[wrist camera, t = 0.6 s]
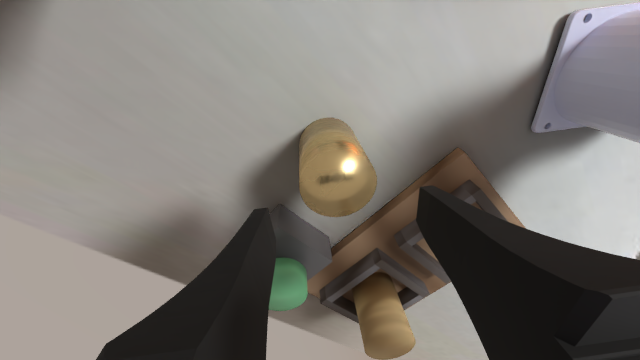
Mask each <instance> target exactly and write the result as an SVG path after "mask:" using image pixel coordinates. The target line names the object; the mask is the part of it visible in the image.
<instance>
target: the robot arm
mask: <svg viewBox="0 0 640 360" xmlns="http://www.w3.org/2000/svg"><path fill="white" fill-rule="evenodd" d="M585 16H586V18H585V20H584V21H583V19H584V17H585ZM546 124H547V125H546ZM545 125H546V126H545ZM580 127H590V128H593V129H597V130H600V131H603V132H606V133H610V134H613V135H616V136H619V137H622V138H626V139H629V140H632V141H635V142H639V143H640V2H637V3H629V4H621V5H613V6H606V7H598V8H590V9H582V10H577V11H574V12H573V13H571V15H570V16H569V17H568V19H567V21H566V24H565V27H564V30H563V33H562V36H561V39H560V42H559V45H558V48H557V51H556V54H555V57H554V60H553V63H552V66H551V69H550V72H549V75H548V78H547V81H546V84H545V87H544V90H543V93H542V96H541V99H540V102H539V105H538V108H537V111H536V114H535V117H534V120H533V123H532V127H531V129H532V131H533V132H536V133H542V132H549V131H557V130H565V129H572V128H580ZM416 222H417V224H418V227H419V229H420V231H421V233H422V235H423V237H424V239H425V241H426V243H427V244H428V246H429V247H430V249H431V251H432V252H433V254H434V255H435V257H436V258H437V260H438V261H439V263H440V265H441V266H442V268H443V269H444V271H445V272H446V274H447V275H448V277H449V279H450V280H451V282H452V284H453V285H454V287H455V289H456V291H457V293H458V294H459V296H460V298H461V300H462V302H463V304H464V306H465V308H466V310H467V312H468V314H469V316H470V319H471V321H472V323H473V325H474V327H475V329H476V331H477V333H478V335H479V338H480V340H481V342H482V344H483V347H484V349H485V351H486V353H487V356H488V358H489V360H640V260H636V259H632V258H627V257H622V256H618V255H613V254H609V253H605V252H601V251H597V250H593V249H589V248H586V247H582V246H578V245H575V244H571V243H568V242H564V241H561V240H558V239H555V238H552V237H548V236H545V235H542V234H539V233H536V232H533V231H531V230H528V229H525V228H523V227H520V226H518V225H515V224H512V223H510V222H507V221H505V220H503V219H500V218H498V217H496V216H494V215H491V214H489V213H487V212H485V211H483V210H481V209H479V208H477V207H475V206H473V205H471V204H469V203H467V202H465V201H463V200H461V199H459V198H457V197H455V196H453V195H451V194H449V193H448V192H446V191H444V190H442V189H440V188H438V187H435V186H433V185H430V186H423V187H420V189H419V198H418V207H417V216H416ZM275 262H276V237H275V233H274V230H273V226H272V222H271V219H270V215H269V211H268V208H262V209H255V210H254V211H253V212H252V213H251V215H250V216H249V217H248V219H247V220H246V221H245V223H244V224H243V226H242V227H241V228H240V230H239V231H238V232H237V233H236V235H235V236H234V237H233V239H232V240H231V241H230V242H229V243H228V245H227V246H226V247H225V248H224V249H223V250H222V252H221V253H220V254H219V255H218V256H217V257H216V258H215V259H214V260H213V261H212V263H211V264H210V265H209V266H208V267H207V268H205V269H204V270H203V271H202V272H201V273H200V274H199V275H198V276H197V277H196V278H195V279H194V280H193V281H191V282H190V283H189V284H188V285H187V286H186V287H184V288H183V289H182V290H181V291H180V292H179V293H177V294H176V295H175V296H174V297H173V298H171V299H170V300H169V301H167V302H166V303H165V304H164V305H162V306H161V307H160V308H158V309H157V310H155V311H154V312H153V313H152V314H150V315H149V316H147V317H146V318H145V319H143V320H142V321H140V322H139V323H137V324H136V325H134V326H133V327H131V328H130V329H128V330H127V331H125V332H124V333H122V334H121V335H119V336H118V337H116V338H115V339H113V340H111V341H110V342H108V343H107V344H106V345H105V346H104V348H103V349H102V351H101V353H100V354H99V356H98V357H97V359H96V360H266V342H267V323H268V310H269V302H270V296H271V289H272V282H273V276H274V269H275Z"/></svg>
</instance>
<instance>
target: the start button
mask: <svg viewBox="0 0 640 360" xmlns="http://www.w3.org/2000/svg"><path fill="white" fill-rule="evenodd" d="M307 294H308V292H307V271H306V269H305V267H304V266H303V265H302V264H301V263H300V262H298V261H296V260H294V259H291V258H276V262H275V269H274V276H273V282H272V289H271V296H270V302H269V310H274V311H286V310H291V309H294V308H296V307H298V306H300V305H301V304H302V303H303V302H304V301H305V300H306V298H307Z"/></svg>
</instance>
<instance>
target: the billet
mask: <svg viewBox="0 0 640 360" xmlns="http://www.w3.org/2000/svg"><path fill="white" fill-rule="evenodd" d="M376 185H377V176H376V172H375V170H374V168H373V166H372V164H371V162H370V161H369V159H368V157H367V155H366V154H365V152H364V150H363V148H362V147H361V145H360V143H359V141H358V140H357V138H356V136H355V134H354V133H353V131H352V129H351V128H350V127H349V126H348V125H347V124H346V123H345V122H343V121H341V120H339V119H335V118H322V119H319V120H316V121H314V122H312V123H311V124H310V125H308V126H307V127H306V129H305V130H304V131H303V133H302V135H301V138H300V142H299V188H300V194H301V197H302V199H303V201H304V202H305V204H306V205H307V206H308V207H309V208H310V209H311V210H313V211H314V212H316V213H318V214H321V215H324V216H329V217H341V216H346V215H350V214H352V213H355V212H356V211H358V210H360V209H361V208H363V207H364V206H365V205H366V204H367V203H368V202H369V201H370V199H371V198H372V196H373V194H374V192H375V190H376Z"/></svg>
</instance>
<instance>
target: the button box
mask: <svg viewBox="0 0 640 360" xmlns="http://www.w3.org/2000/svg"><path fill="white" fill-rule="evenodd" d="M269 215H270V219H271V222H272V226H273V230H274V233H275V237H276V258H291V259H294V260H296V261H298V262H300V263H301V264H302V265H303V266H304V267H305V269H306V271H307V281H308V280H309V279H311V278H312V277H313V276H315V275H316V274H317V273H318V272H320V271H321V270H322V269H324V268H325V267H326V266H327V265H329V264H330V263H331V262H333V261H332V254H331V248H330V241H329V237H328V236H327V235H325V234H324V233H322V232H321V231H319V230H318V229H316V228H315V227H313V226H312V225H310V224H309V223H307V222H306V221H304V220H303V219H301V218H300V217H299V216H297V215H296V214H294V213H293V212H291V211H290V210H288V209H287V208H285V207H284V206H282V205H281V204H279V205H278V206H277V207H276V208H275V209H274V210H273V211H272V212H271V213H270V214H269Z"/></svg>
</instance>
